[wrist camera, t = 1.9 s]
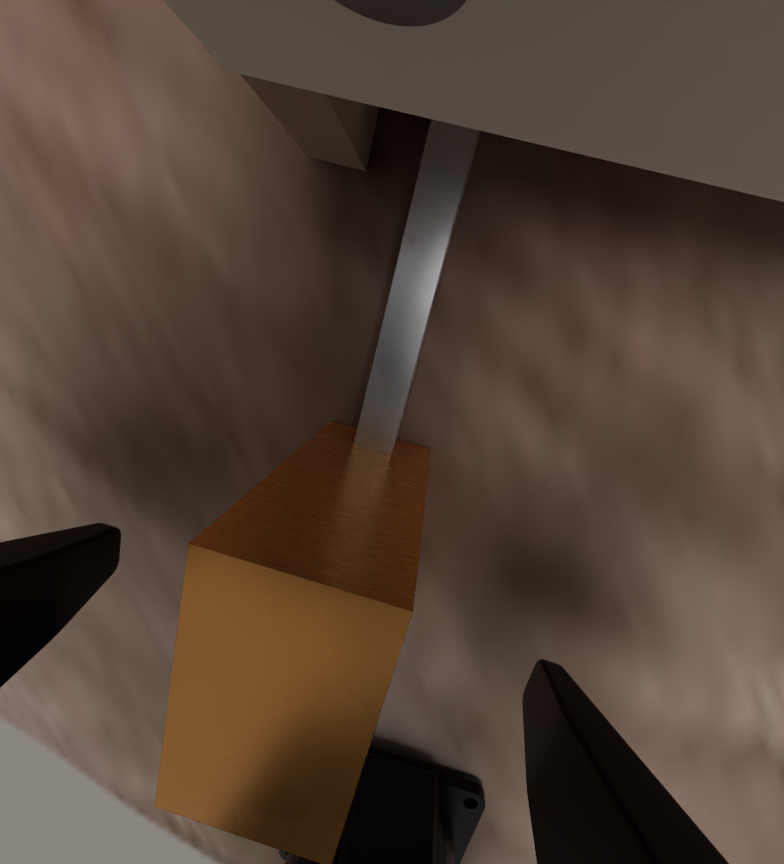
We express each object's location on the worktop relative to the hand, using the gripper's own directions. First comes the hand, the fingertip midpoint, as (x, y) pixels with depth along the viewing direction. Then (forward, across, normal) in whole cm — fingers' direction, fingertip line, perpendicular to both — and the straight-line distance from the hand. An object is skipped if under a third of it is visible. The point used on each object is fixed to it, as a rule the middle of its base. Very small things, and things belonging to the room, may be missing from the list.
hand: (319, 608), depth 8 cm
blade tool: (+4, 0, -8) cm, 9 cm away
